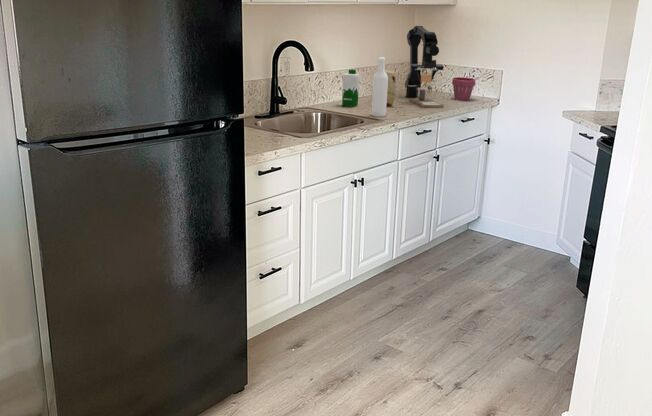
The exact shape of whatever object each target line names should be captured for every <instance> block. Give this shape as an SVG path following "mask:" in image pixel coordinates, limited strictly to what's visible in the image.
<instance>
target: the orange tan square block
mask: <svg viewBox="0 0 652 416" xmlns="http://www.w3.org/2000/svg"><path fill="white" fill-rule="evenodd" d="M431 74H432V73H431ZM431 74H429V73H427V74H426V73H425V74H424V73H423V74H421V83H432V82H431V80H432V81H433V79H432V75H431Z"/></svg>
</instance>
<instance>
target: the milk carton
mask: <svg viewBox="0 0 652 416" xmlns="http://www.w3.org/2000/svg"><path fill="white" fill-rule="evenodd" d="M341 90H342V93H341V95H342V98H341V100H342V101H341V102H342V103H341V105H342V106H341V107H347V108H355V107H357V106H358V104H359V103H358V102H359V90H360V73H357V70H356V69H348V72H346V73H344V74H342V89H341Z"/></svg>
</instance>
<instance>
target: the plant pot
mask: <svg viewBox="0 0 652 416" xmlns="http://www.w3.org/2000/svg"><path fill="white" fill-rule="evenodd" d="M476 81H477V80H476V78H472V77H459V76H458V77H453V78H452V82H451V85H452V86H453V95H454V101H455V100H456V101H470V99H471V96H472V94H473V93H472V92H473V90H474V87H475V86H476Z"/></svg>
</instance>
